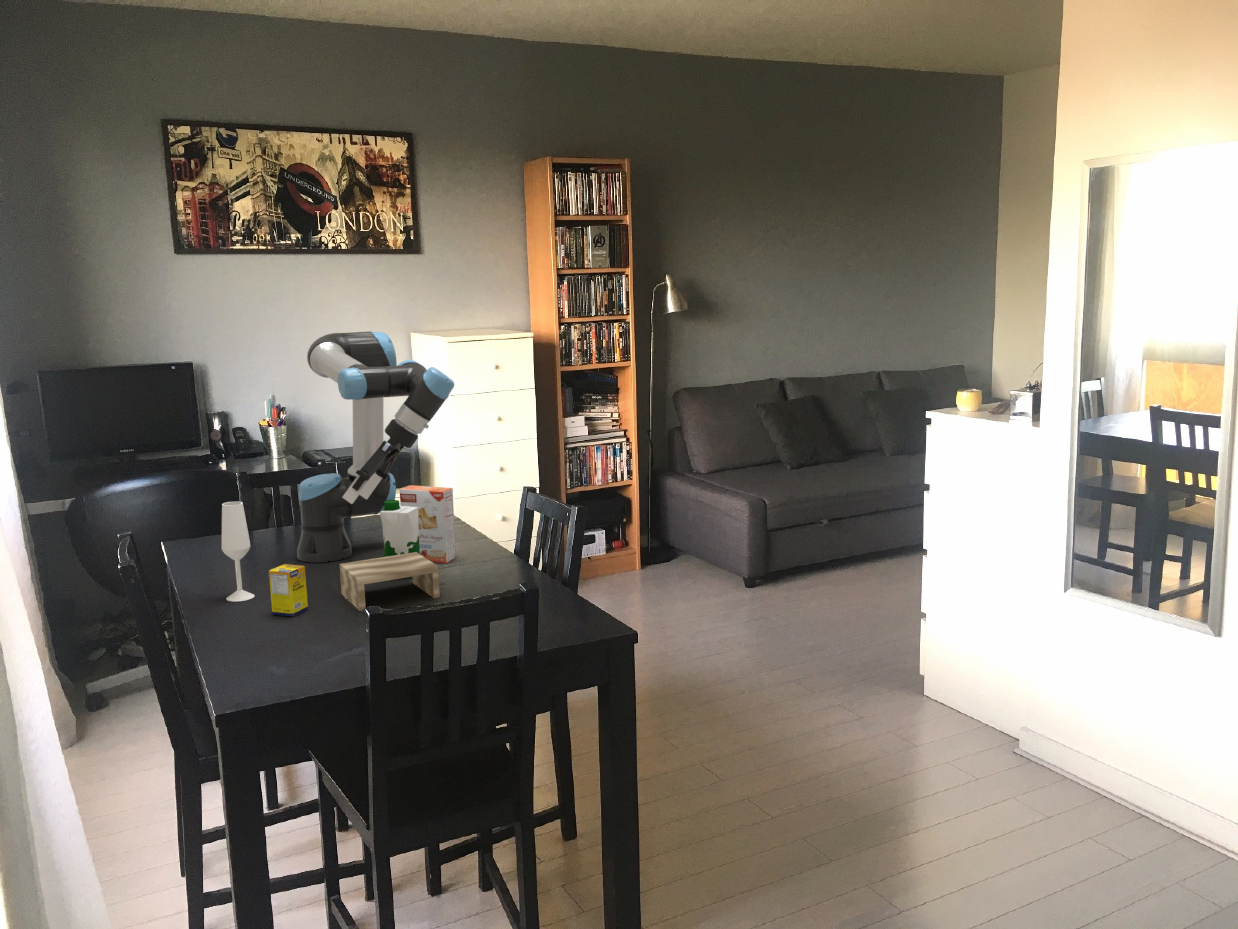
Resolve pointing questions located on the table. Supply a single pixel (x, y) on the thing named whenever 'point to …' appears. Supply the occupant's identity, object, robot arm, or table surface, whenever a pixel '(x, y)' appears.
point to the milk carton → (399, 529)
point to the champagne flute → (235, 542)
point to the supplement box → (288, 590)
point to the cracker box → (433, 520)
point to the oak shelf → (387, 575)
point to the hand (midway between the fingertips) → (354, 498)
